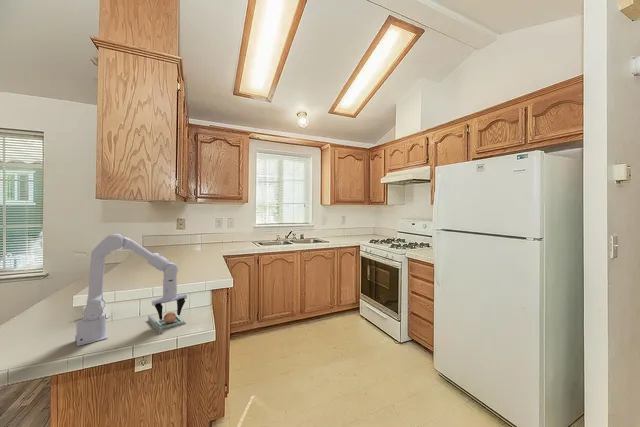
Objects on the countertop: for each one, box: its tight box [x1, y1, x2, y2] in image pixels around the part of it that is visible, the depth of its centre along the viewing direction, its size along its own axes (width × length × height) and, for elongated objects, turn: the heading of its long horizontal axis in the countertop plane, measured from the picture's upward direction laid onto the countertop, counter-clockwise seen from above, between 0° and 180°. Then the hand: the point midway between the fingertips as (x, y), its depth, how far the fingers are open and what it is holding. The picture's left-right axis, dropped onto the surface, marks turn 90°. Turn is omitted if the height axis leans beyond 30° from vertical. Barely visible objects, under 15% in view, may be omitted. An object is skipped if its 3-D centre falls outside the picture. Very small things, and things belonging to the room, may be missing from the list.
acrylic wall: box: [147, 314, 163, 335], centre depth 123 cm, size 1×20×2 cm, turn 45°
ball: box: [163, 311, 177, 323], centre depth 127 cm, size 5×5×5 cm
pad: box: [156, 315, 187, 331], centre depth 127 cm, size 11×11×1 cm
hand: (169, 316), depth 127 cm, fingers open, 7 cm apart
